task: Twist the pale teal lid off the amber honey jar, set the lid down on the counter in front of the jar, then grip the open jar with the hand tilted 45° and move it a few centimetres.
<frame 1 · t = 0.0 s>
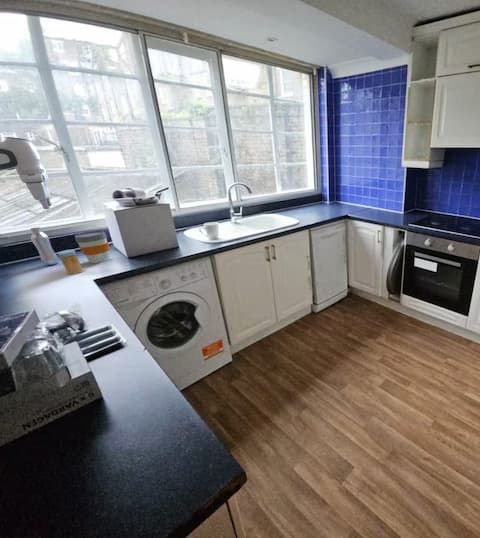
hand: (48, 207, 137), 32 cm above the table, tool pointing down, fingers open, 8 cm apart
jar: (75, 272, 147), on the table
reusable coffee cup: (100, 260, 162), on the table
plastic bottle: (52, 264, 158), on the table
jar lid: (66, 252, 143), point 11 cm above the table, screwed on, not yet turned
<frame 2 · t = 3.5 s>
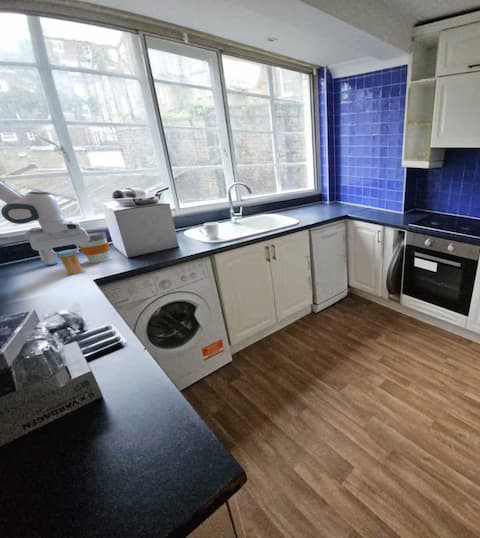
hand: (67, 254, 143), 10 cm above the table, tool pointing down, fingers closed on jar lid, 6 cm apart
jar lid: (66, 252, 143), point 11 cm above the table, screwed on, not yet turned, touching gripper
everything else where it was.
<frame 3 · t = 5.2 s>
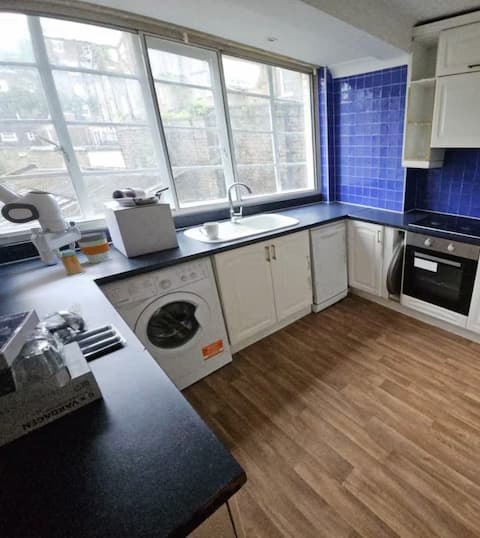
hand: (67, 254, 143), 10 cm above the table, tool pointing down, fingers closed on jar lid, 6 cm apart
jar lid: (66, 252, 143), point 11 cm above the table, turned 57° so far, risen 0.1 cm, still on its thread, touching gripper
everything else where it was.
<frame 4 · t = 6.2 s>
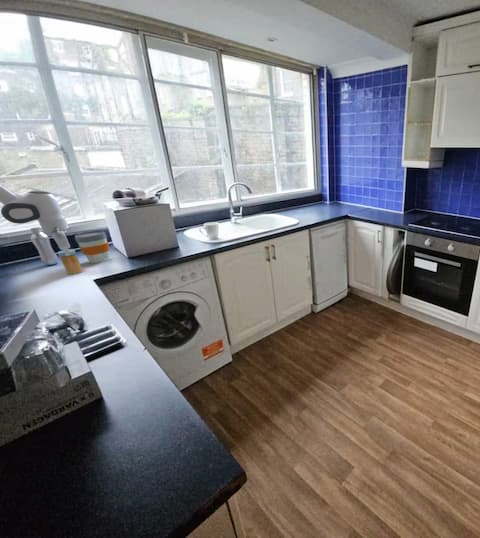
hand: (67, 253, 143), 10 cm above the table, tool pointing down, fingers closed on jar lid, 6 cm apart
jar: (75, 272, 147), on the table, touching jar lid
jar lid: (66, 251, 143), point 11 cm above the table, off its thread, touching gripper, jar
everything else where it was.
when the fingers open (0 cm above the table, at t = 15.3 s): jar lid stays where it is, point 1 cm above the table.
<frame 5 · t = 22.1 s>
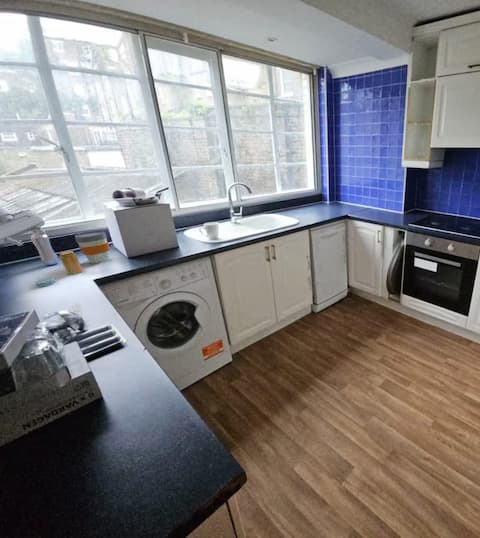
hand: (33, 239, 130), 20 cm above the table, tool tilted 45°, fingers open, 8 cm apart
jar: (75, 272, 147), on the table
jar lid: (44, 281, 134), point 1 cm above the table, off its thread
everything else where it was.
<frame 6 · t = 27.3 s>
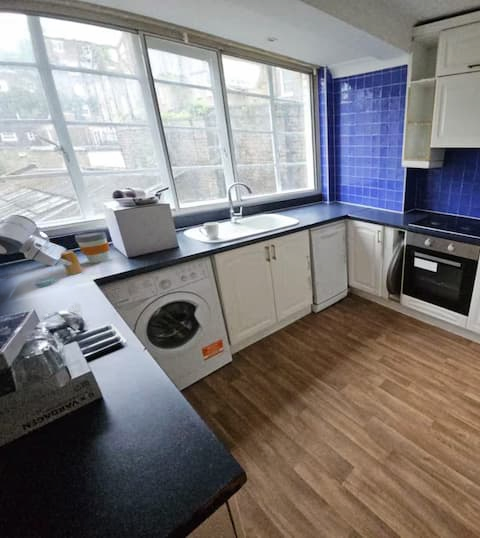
hand: (72, 262, 145), 5 cm above the table, tool tilted 45°, fingers closed on jar, 6 cm apart
jar: (75, 272, 147), on the table, touching gripper
everything else where it was.
when the fingers open (5 cm above the table, at t = 34.3 s): jar stays where it is, on the table.
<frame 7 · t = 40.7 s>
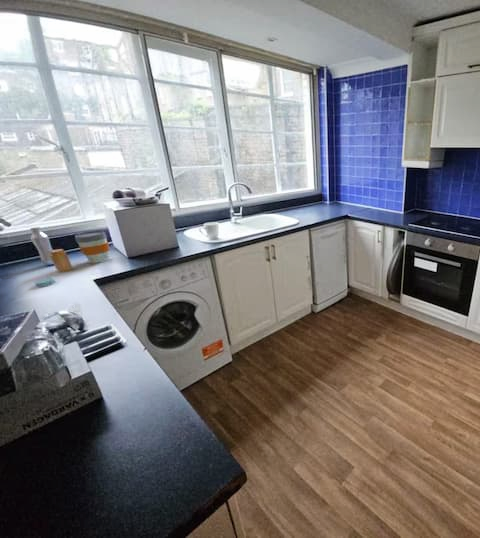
hand: (7, 227, 134), 24 cm above the table, tool tilted 45°, fingers open, 8 cm apart
jar: (65, 269, 150), on the table
everything else where it was.
at the end: the gripper is holding nothing; jar lid point 1.4 cm above the table; jar inside the target area (0.1 cm from its centre), on the table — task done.
